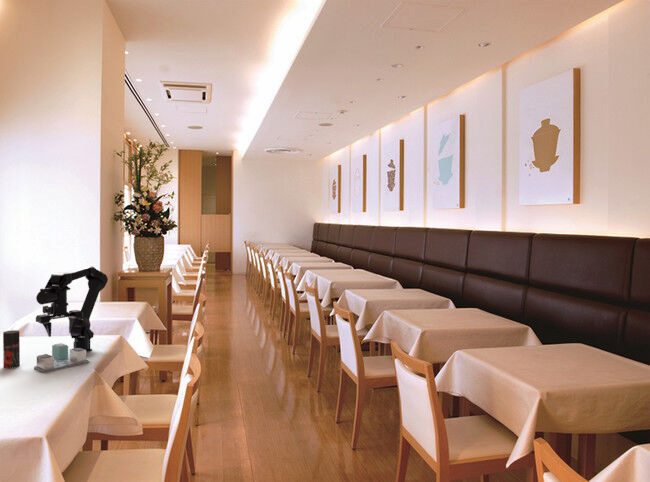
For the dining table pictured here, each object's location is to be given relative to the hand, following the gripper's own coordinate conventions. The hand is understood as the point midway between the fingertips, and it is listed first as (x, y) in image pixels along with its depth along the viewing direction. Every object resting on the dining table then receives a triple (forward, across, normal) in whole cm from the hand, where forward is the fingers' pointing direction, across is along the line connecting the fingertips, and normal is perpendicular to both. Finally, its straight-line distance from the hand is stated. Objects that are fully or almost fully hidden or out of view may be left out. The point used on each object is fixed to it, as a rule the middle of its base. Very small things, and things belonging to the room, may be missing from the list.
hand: (60, 334), depth 227 cm
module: (+11, 0, 0) cm, 11 cm away
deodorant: (+11, +19, -3) cm, 22 cm away
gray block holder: (+11, +5, +12) cm, 17 cm away
